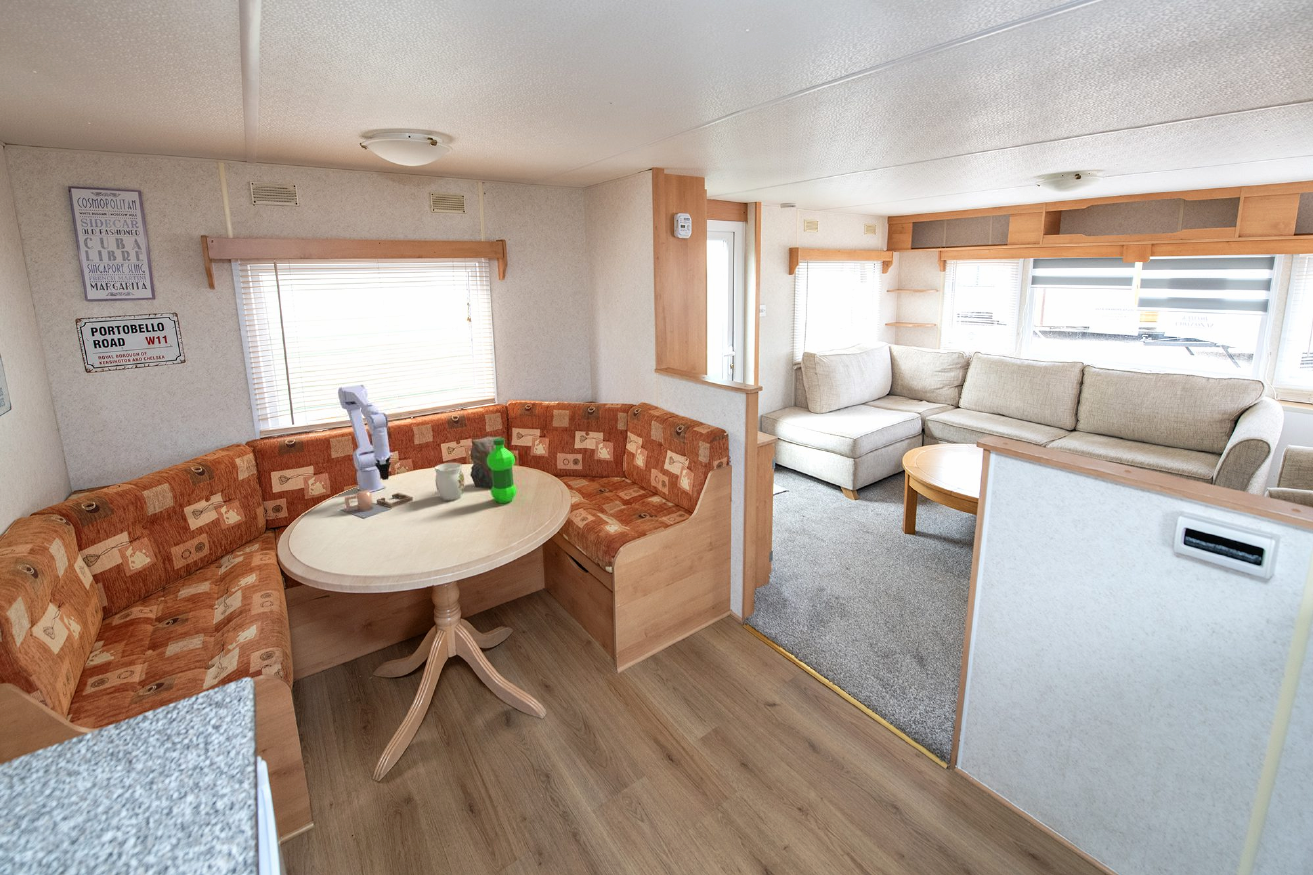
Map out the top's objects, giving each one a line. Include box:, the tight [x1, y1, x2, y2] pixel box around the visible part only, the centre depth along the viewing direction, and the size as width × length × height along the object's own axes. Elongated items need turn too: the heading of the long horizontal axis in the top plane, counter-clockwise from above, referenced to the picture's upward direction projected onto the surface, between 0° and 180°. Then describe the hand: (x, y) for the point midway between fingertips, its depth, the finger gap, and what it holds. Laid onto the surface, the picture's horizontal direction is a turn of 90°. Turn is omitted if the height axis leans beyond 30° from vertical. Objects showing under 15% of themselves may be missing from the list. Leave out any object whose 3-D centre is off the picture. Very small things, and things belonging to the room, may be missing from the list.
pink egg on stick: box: [344, 490, 374, 512], centre depth 235 cm, size 9×5×7 cm, turn 115°
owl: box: [469, 435, 502, 490], centre depth 260 cm, size 13×13×20 cm
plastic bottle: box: [487, 437, 518, 504], centre depth 239 cm, size 10×10×25 cm
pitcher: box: [434, 462, 466, 501], centre depth 246 cm, size 11×18×14 cm, turn 6°
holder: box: [376, 492, 414, 509], centre depth 244 cm, size 10×10×2 cm
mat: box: [341, 502, 391, 519], centre depth 236 cm, size 16×11×1 cm
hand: (385, 476), depth 245 cm, fingers open, 7 cm apart
